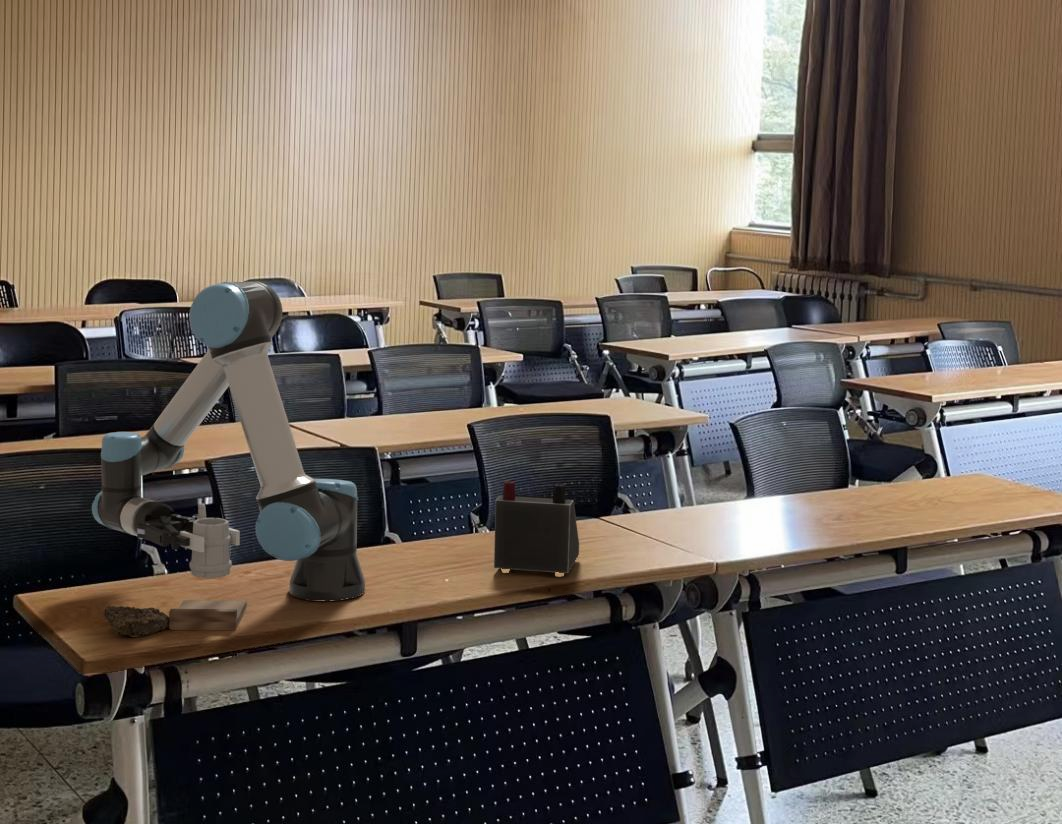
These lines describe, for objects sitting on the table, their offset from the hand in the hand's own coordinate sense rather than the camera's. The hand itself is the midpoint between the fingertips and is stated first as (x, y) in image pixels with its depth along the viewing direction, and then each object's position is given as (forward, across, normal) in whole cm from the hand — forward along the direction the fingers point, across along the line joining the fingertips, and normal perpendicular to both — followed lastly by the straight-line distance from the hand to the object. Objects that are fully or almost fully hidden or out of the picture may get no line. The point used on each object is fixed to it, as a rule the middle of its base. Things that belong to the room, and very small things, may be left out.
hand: (220, 541), depth 253 cm
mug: (-5, -1, -7) cm, 8 cm away
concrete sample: (-7, +13, -16) cm, 22 cm away
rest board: (-4, 0, -16) cm, 16 cm away
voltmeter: (+13, -74, -16) cm, 77 cm away
